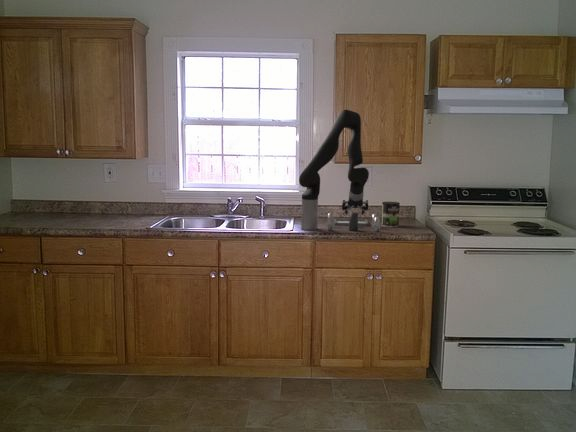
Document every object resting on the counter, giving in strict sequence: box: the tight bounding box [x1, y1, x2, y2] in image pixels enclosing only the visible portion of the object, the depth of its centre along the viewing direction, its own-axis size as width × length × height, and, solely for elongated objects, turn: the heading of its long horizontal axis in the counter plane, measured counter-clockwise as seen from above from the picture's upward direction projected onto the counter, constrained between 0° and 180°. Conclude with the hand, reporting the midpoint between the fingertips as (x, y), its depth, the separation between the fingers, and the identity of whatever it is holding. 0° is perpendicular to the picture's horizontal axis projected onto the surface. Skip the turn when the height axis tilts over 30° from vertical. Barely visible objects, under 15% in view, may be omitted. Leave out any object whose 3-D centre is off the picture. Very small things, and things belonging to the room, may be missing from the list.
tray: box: [333, 218, 370, 227], centre depth 335 cm, size 20×18×2 cm
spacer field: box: [327, 212, 381, 233], centre depth 315 cm, size 29×18×8 cm, turn 87°
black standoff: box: [348, 211, 359, 232], centre depth 310 cm, size 5×5×10 cm
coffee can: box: [381, 201, 400, 228], centre depth 327 cm, size 10×10×14 cm
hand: (354, 213), depth 305 cm, fingers open, 8 cm apart
